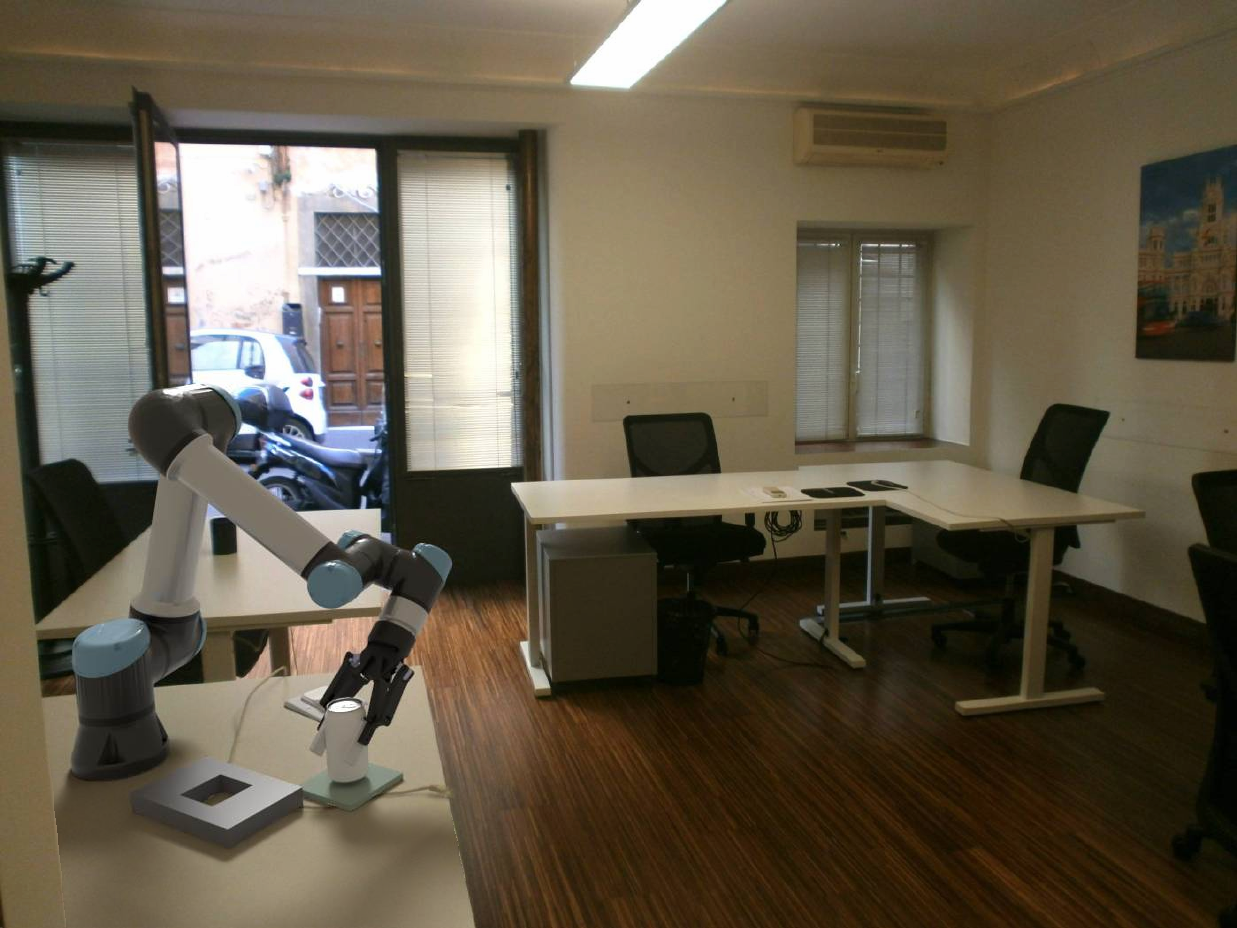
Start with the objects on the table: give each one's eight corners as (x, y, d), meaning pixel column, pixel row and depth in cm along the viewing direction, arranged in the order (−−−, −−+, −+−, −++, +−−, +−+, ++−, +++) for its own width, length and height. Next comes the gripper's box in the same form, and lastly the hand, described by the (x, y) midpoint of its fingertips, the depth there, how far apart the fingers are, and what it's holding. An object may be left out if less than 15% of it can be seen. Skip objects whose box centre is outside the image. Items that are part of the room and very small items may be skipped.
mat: (294, 793, 155) (294, 787, 155) (349, 762, 165) (348, 756, 165) (350, 811, 149) (350, 805, 149) (403, 778, 159) (402, 772, 159)
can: (327, 768, 159) (323, 699, 157) (368, 762, 161) (364, 694, 159) (328, 786, 153) (324, 715, 151) (370, 780, 155) (366, 709, 153)
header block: (131, 810, 149) (130, 792, 149) (208, 772, 162) (207, 755, 161) (229, 848, 139) (227, 829, 138) (303, 804, 151) (302, 786, 151)
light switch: (322, 708, 180) (282, 688, 188) (322, 729, 181) (283, 708, 189) (370, 690, 189) (330, 671, 196) (370, 710, 189) (330, 691, 197)
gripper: (452, 648, 162) (389, 780, 151) (366, 630, 172) (301, 753, 160) (430, 627, 157) (364, 762, 146) (343, 609, 166) (273, 736, 155)
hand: (331, 757), depth 153 cm, fingers closed on can, 6 cm apart
